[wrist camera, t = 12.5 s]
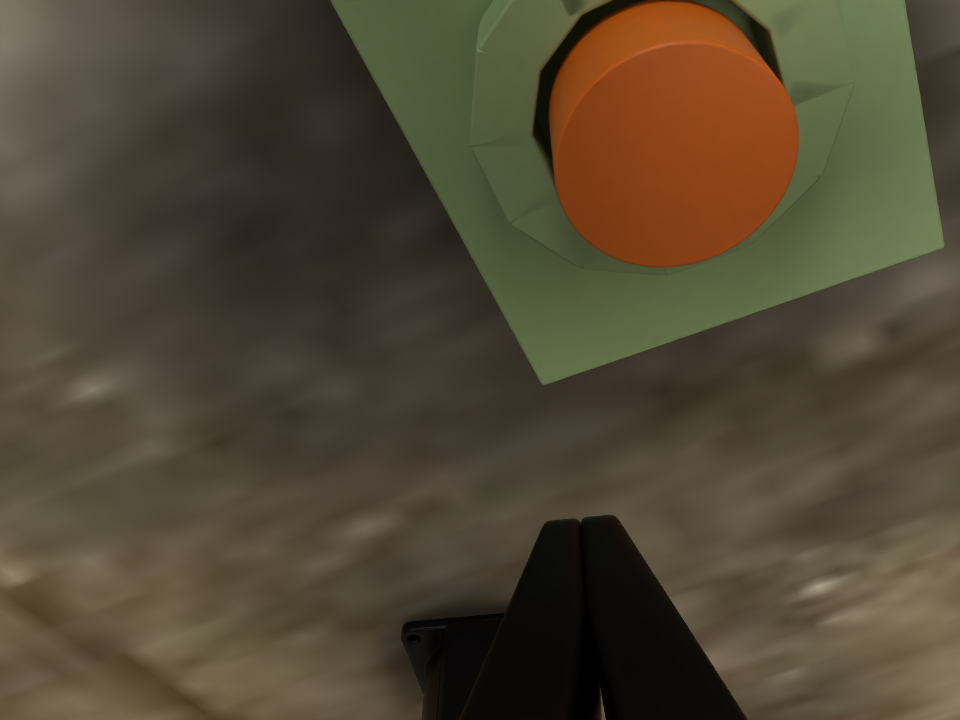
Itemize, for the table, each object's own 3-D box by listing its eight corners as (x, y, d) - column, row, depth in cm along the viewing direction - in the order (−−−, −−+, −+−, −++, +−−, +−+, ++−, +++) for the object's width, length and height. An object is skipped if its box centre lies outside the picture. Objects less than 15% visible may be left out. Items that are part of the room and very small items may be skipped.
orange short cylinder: (784, 157, 16) (823, 218, 14) (592, 232, 17) (603, 299, 15) (729, -44, 14) (766, -6, 12) (515, 57, 15) (515, 107, 13)
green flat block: (909, 204, 21) (981, 290, 18) (539, 338, 24) (544, 433, 20) (788, -444, 14) (873, -495, 11) (284, -144, 17) (231, -113, 13)
